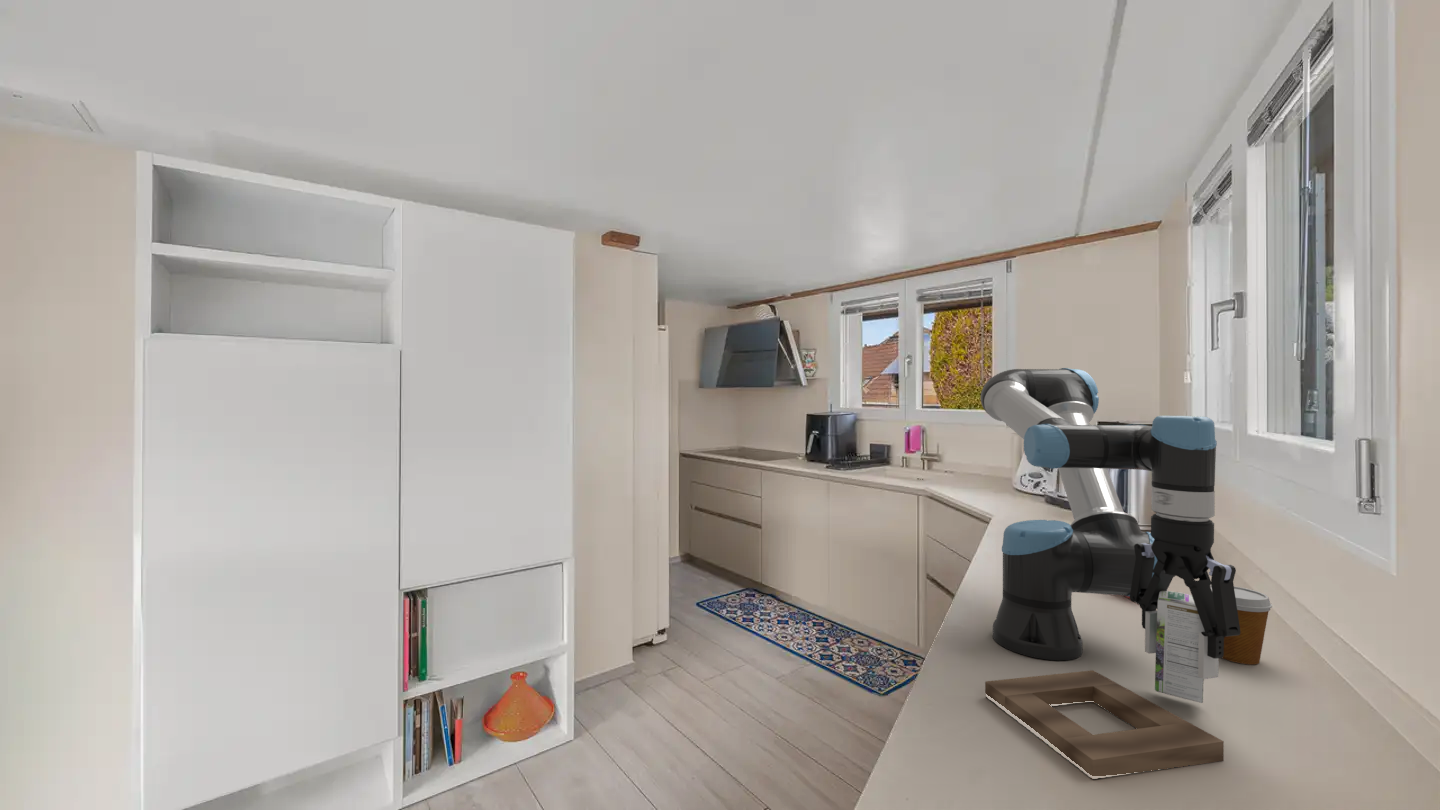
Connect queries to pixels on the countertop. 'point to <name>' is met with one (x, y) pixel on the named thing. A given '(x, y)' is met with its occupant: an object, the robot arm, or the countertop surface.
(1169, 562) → the robot arm
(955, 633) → the countertop surface
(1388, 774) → the countertop surface
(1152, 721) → the wooden square frame
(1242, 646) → the disposable coffee cup
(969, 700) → the countertop surface
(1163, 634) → the syrup box
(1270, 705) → the countertop surface
